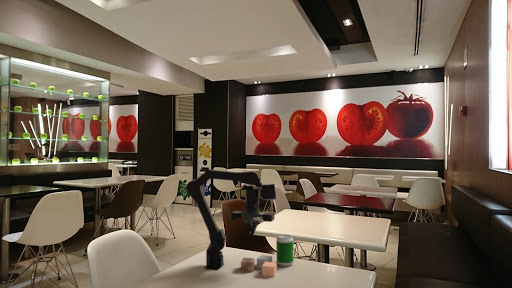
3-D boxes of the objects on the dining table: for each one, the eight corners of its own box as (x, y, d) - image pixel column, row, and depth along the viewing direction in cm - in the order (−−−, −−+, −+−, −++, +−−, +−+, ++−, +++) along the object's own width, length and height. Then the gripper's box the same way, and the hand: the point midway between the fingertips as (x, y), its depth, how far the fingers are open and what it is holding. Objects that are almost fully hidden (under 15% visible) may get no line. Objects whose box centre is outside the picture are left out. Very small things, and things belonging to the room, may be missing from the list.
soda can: (293, 267, 130) (292, 239, 130) (275, 266, 131) (275, 238, 131) (294, 261, 137) (294, 234, 137) (277, 260, 139) (277, 233, 139)
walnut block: (241, 271, 127) (240, 262, 127) (243, 267, 132) (242, 257, 132) (253, 272, 126) (252, 262, 126) (254, 267, 131) (254, 258, 131)
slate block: (257, 267, 131) (256, 258, 131) (262, 263, 135) (261, 254, 135) (267, 269, 128) (267, 260, 129) (272, 265, 133) (272, 256, 133)
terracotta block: (262, 275, 122) (261, 265, 122) (265, 271, 127) (265, 261, 127) (274, 277, 121) (274, 267, 121) (277, 272, 126) (276, 262, 126)
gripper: (225, 202, 128) (225, 239, 127) (268, 204, 122) (268, 243, 122) (234, 198, 138) (235, 232, 138) (274, 199, 133) (275, 235, 133)
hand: (252, 235), depth 132 cm, fingers closed
